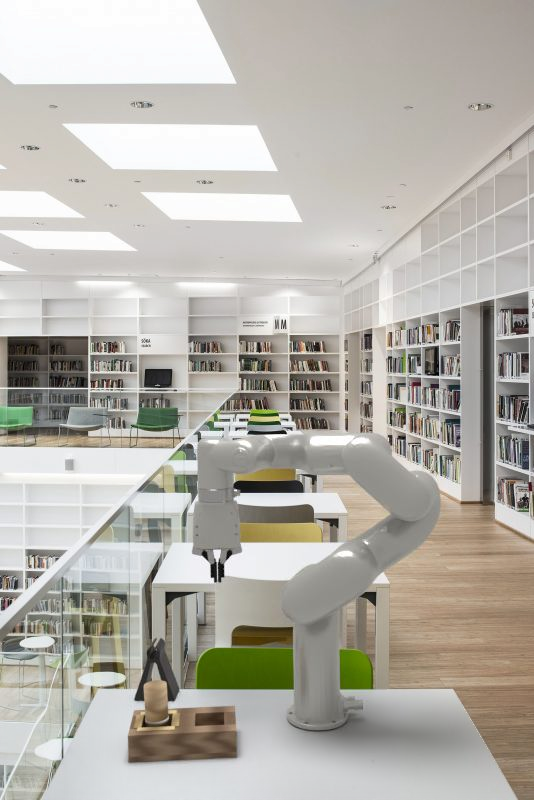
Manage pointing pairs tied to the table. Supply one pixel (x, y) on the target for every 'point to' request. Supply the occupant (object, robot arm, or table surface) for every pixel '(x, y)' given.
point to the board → (184, 735)
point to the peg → (156, 704)
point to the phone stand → (163, 668)
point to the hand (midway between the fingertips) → (217, 580)
